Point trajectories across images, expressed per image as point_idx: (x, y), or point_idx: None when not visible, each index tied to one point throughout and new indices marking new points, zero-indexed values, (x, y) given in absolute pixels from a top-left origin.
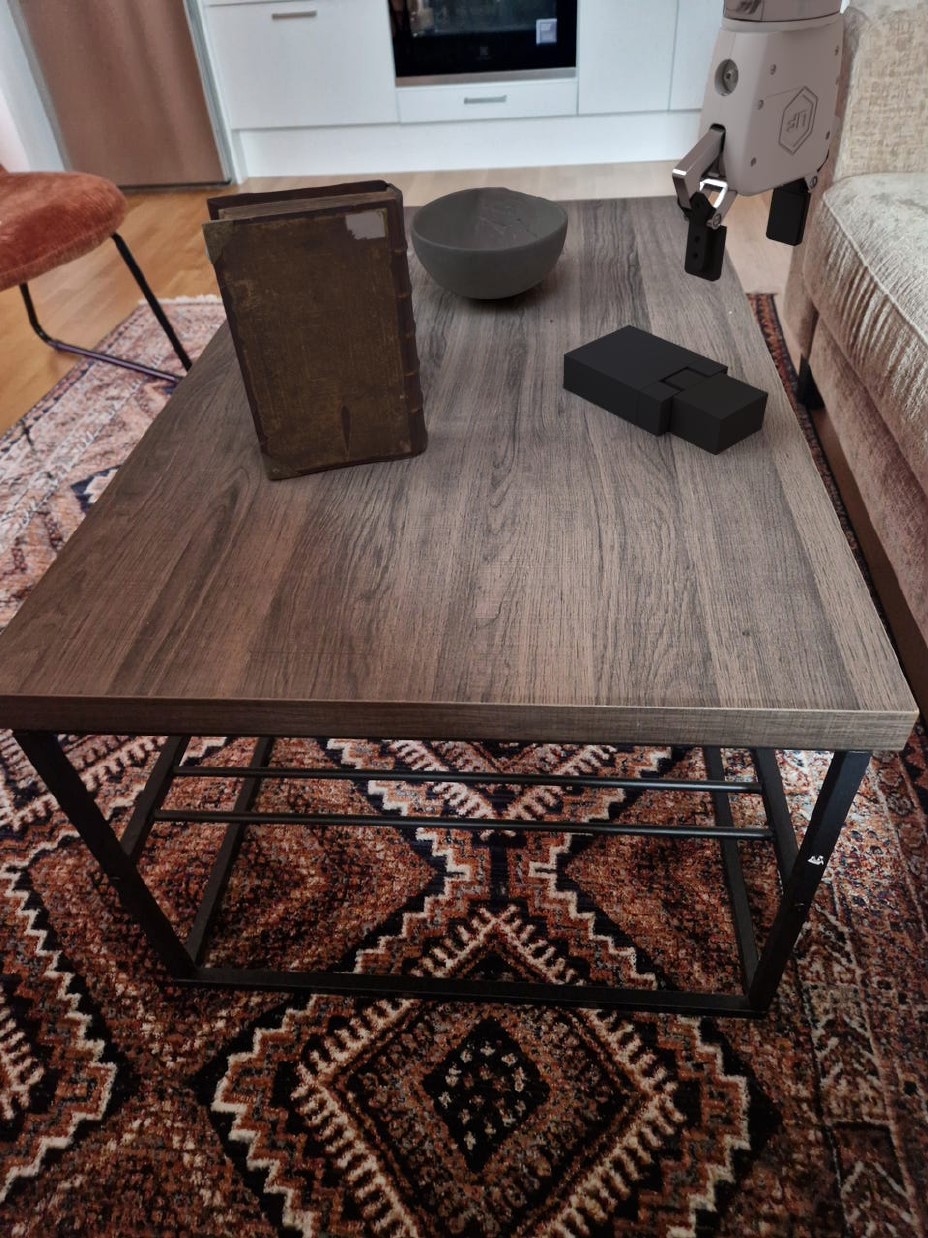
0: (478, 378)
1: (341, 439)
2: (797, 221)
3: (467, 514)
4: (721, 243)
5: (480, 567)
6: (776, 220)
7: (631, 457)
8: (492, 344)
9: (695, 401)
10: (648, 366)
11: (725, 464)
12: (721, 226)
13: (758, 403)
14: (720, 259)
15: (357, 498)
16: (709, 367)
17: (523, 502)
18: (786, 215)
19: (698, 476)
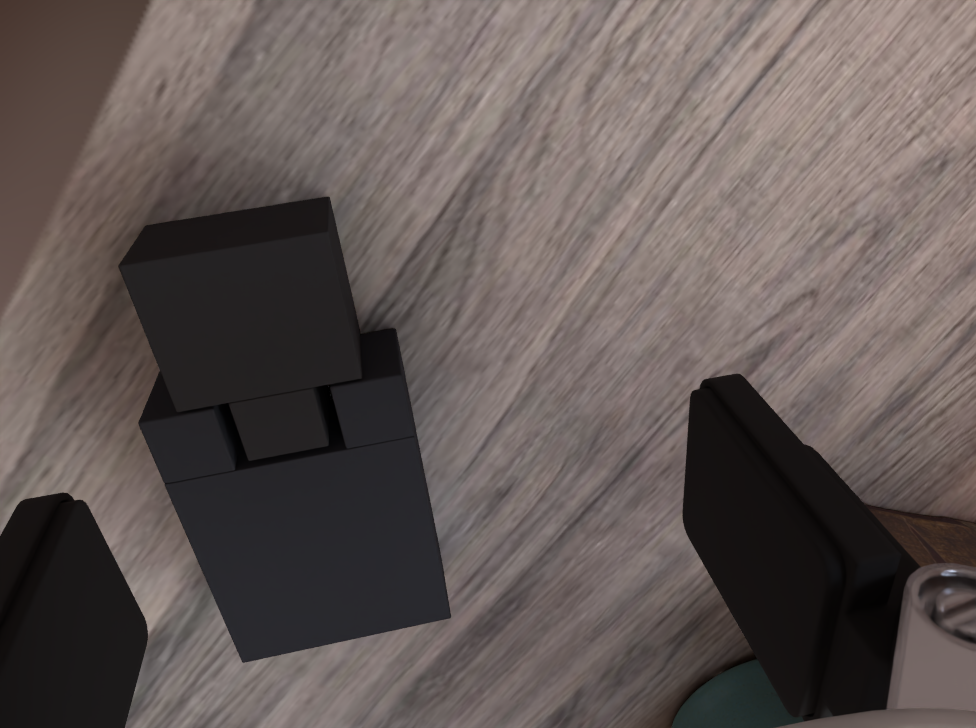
0: (549, 640)
1: (934, 546)
2: (41, 603)
3: (862, 299)
4: (834, 488)
5: (967, 147)
6: (109, 679)
7: (496, 293)
8: (454, 719)
9: (329, 333)
10: (323, 507)
11: (332, 151)
12: (875, 578)
13: (165, 252)
14: (771, 432)
15: (942, 430)
16: (188, 441)
17: (768, 277)
18: (72, 676)
19: (422, 149)
